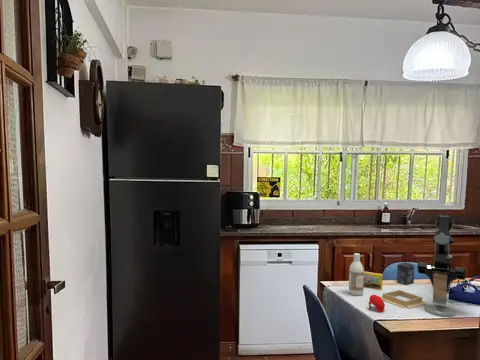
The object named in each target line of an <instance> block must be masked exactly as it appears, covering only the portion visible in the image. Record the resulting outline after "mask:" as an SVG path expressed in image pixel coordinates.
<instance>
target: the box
mask: <svg viewBox="0 0 480 360" xmlns="http://www.w3.org/2000/svg"><path fill="white" fill-rule="evenodd" d="M396 271H397V272H396V283H397V282H398V284H401V285H405V286H407V285H410V284H414V283H415V264H413V263H409V262H402V263H397V270H396Z"/></svg>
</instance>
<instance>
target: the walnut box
mask: <svg viewBox="0 0 480 360" xmlns="http://www.w3.org/2000/svg"><path fill="white" fill-rule="evenodd" d="M447 294H448V292H447V274H440V273H434V272H433V287H432V304H437V305H442V306H447V298H448V297H447Z"/></svg>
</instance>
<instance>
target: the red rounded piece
mask: <svg viewBox="0 0 480 360" xmlns="http://www.w3.org/2000/svg"><path fill="white" fill-rule="evenodd" d="M372 305H373V306H374V307H375V309H376V311H377V312H378V313H381V314H382V313H383V312H385V306H386V304H385V301H383V300H382V299H381V298H380V296H379V295H377V294H372V295H371V294H370V296H369V301H368V307H369V309H370V310H371V309H372Z"/></svg>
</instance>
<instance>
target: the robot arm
mask: <svg viewBox="0 0 480 360" xmlns="http://www.w3.org/2000/svg"><path fill="white" fill-rule="evenodd" d="M454 222H455V218H454V217H453V216H451V215H449V214H443V213H440V214H438V215H436V216H435V222H434V223H435V225H436V228H437V229H438V230H436V231H435V235H433V238H432V243H433V244H434V259H433V266H432V265H428V262H424V261H423V262H417V273H418V274H420V275H425V276H427V277H428V279H429V280H430V283H431V286H432V288H433V280H434V273H440V274H447V293H449V292H448V291H449V288H450V289H451V284H452V283H453V282H454V281H456V280H466V276H467V275H466V273H467V272H466V271H467V270H466V268H465V267H460V266H455V268H454V269H453V268H452V266H451V264H452V263H453V254H450V247H451V245H453V244H454V239H453V237H452V236H451V231H452V230H453V226H454Z"/></svg>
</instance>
